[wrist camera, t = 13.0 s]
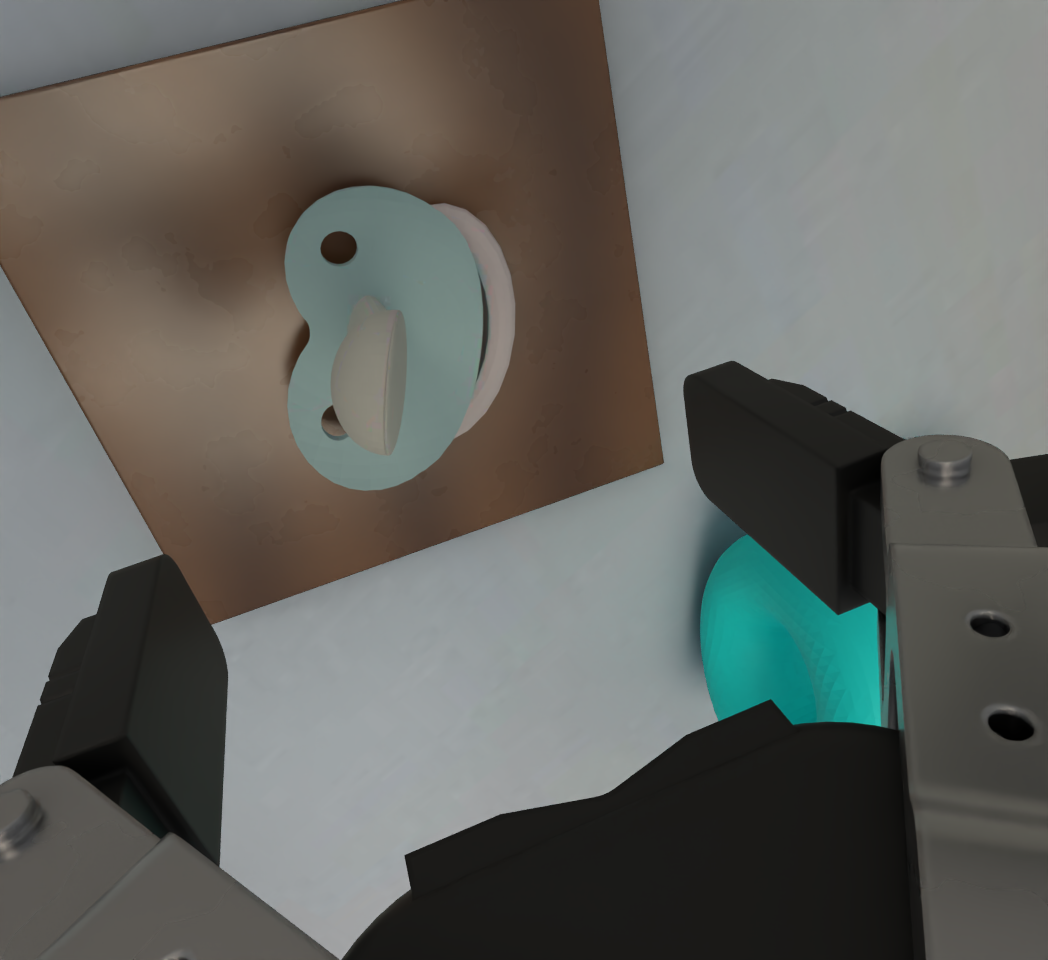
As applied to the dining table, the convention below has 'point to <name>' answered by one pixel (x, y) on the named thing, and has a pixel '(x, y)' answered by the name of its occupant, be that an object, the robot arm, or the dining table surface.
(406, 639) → the dining table surface
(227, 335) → the board
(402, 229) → the pacifier
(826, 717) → the donuts
